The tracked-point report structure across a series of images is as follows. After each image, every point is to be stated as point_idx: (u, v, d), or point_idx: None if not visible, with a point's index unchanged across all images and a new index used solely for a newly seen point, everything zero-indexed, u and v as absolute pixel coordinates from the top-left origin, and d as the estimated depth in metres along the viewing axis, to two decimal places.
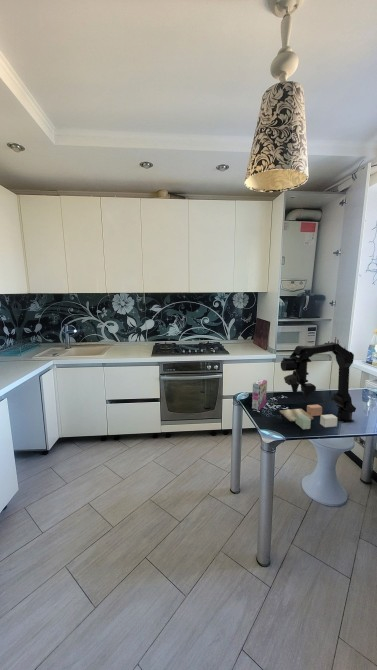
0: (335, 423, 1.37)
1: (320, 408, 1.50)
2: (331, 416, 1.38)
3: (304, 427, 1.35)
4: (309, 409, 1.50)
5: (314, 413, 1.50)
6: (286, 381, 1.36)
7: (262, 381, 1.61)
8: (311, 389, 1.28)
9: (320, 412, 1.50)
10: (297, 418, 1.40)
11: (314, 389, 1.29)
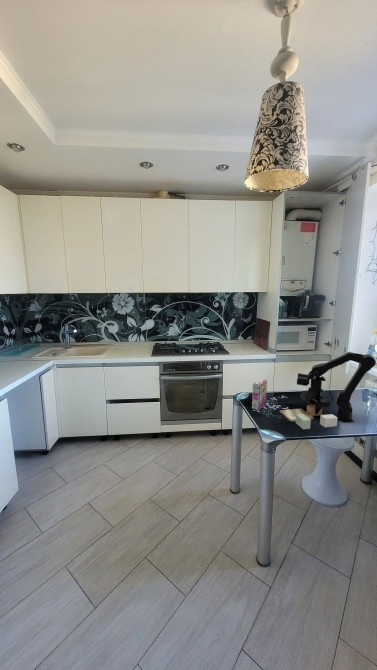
0: (335, 423, 1.37)
1: None
2: (331, 416, 1.38)
3: (304, 427, 1.35)
4: (309, 409, 1.50)
5: (314, 413, 1.50)
6: (302, 397, 1.49)
7: (262, 381, 1.61)
8: (326, 405, 1.41)
9: (320, 412, 1.50)
10: (297, 418, 1.40)
11: (328, 405, 1.42)
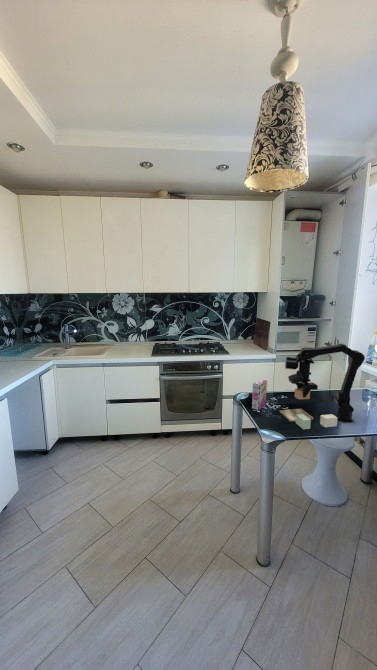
0: (335, 423, 1.37)
1: None
2: (331, 416, 1.38)
3: (304, 427, 1.35)
4: (297, 392, 1.48)
5: (302, 397, 1.47)
6: (290, 380, 1.47)
7: (262, 381, 1.61)
8: (313, 388, 1.39)
9: (308, 395, 1.48)
10: (297, 418, 1.40)
11: (316, 388, 1.39)
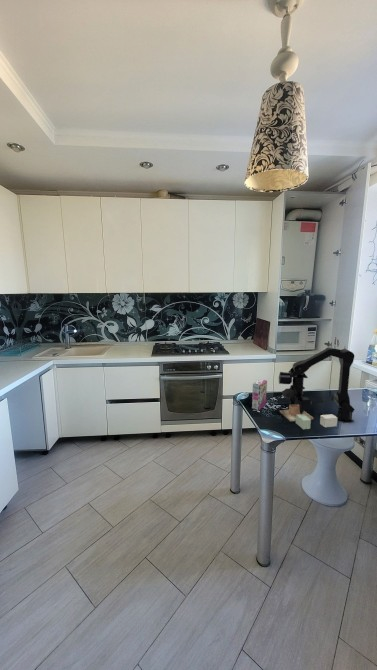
0: (335, 423, 1.37)
1: None
2: (331, 416, 1.38)
3: (304, 427, 1.35)
4: (291, 409, 1.48)
5: (296, 413, 1.48)
6: (284, 395, 1.47)
7: (262, 381, 1.61)
8: (307, 403, 1.39)
9: None
10: (297, 418, 1.40)
11: (310, 403, 1.40)
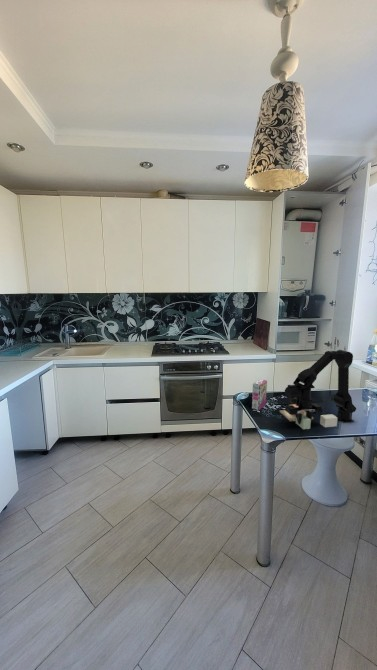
0: (335, 423, 1.37)
1: None
2: (331, 416, 1.38)
3: (304, 427, 1.35)
4: None
5: None
6: None
7: (262, 381, 1.61)
8: (287, 410, 1.35)
9: (302, 412, 1.48)
10: None
11: (289, 412, 1.34)
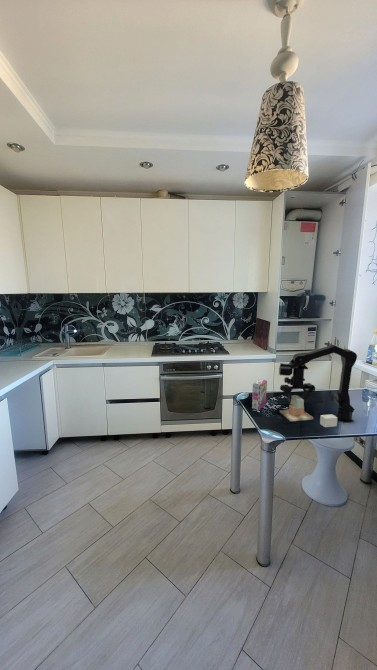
0: (335, 423, 1.37)
1: (302, 408, 1.48)
2: (331, 416, 1.38)
3: (298, 406, 1.45)
4: (291, 409, 1.48)
5: (296, 413, 1.48)
6: None
7: (262, 381, 1.61)
8: (282, 389, 1.46)
9: (302, 412, 1.48)
10: (291, 399, 1.50)
11: (284, 390, 1.45)
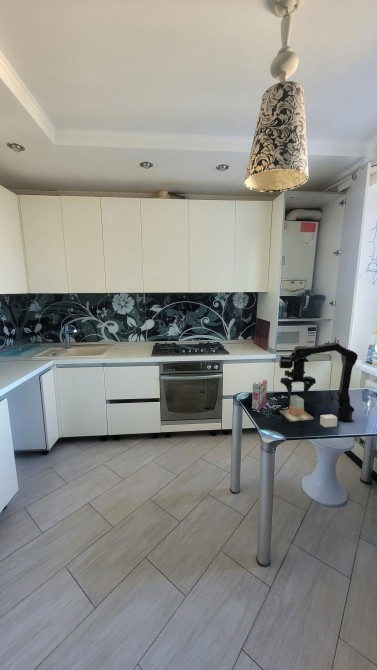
0: (335, 423, 1.37)
1: (302, 408, 1.48)
2: (331, 416, 1.38)
3: (298, 406, 1.45)
4: (291, 409, 1.48)
5: (296, 413, 1.48)
6: None
7: (262, 381, 1.61)
8: (282, 382, 1.45)
9: (302, 412, 1.48)
10: (291, 399, 1.50)
11: (284, 383, 1.44)
